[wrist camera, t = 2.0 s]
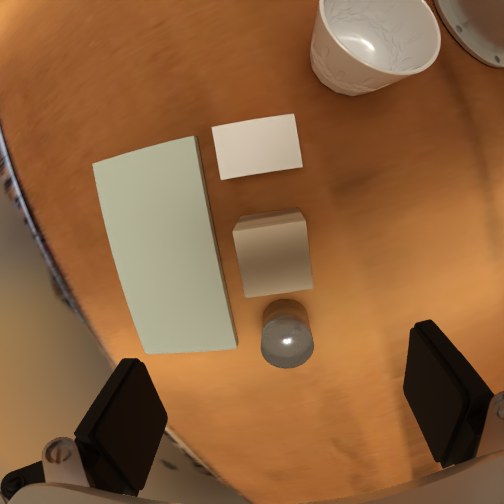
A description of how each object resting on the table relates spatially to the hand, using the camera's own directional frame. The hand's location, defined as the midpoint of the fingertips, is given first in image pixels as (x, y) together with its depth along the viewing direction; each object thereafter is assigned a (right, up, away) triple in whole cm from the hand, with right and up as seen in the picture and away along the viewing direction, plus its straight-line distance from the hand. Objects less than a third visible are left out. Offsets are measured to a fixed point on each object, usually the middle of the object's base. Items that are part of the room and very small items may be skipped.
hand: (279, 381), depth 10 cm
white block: (0, +13, +15) cm, 20 cm away
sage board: (-9, +4, +18) cm, 21 cm away
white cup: (+7, +21, +13) cm, 26 cm away
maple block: (+1, +5, +18) cm, 18 cm away
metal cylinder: (+2, -2, +20) cm, 20 cm away
